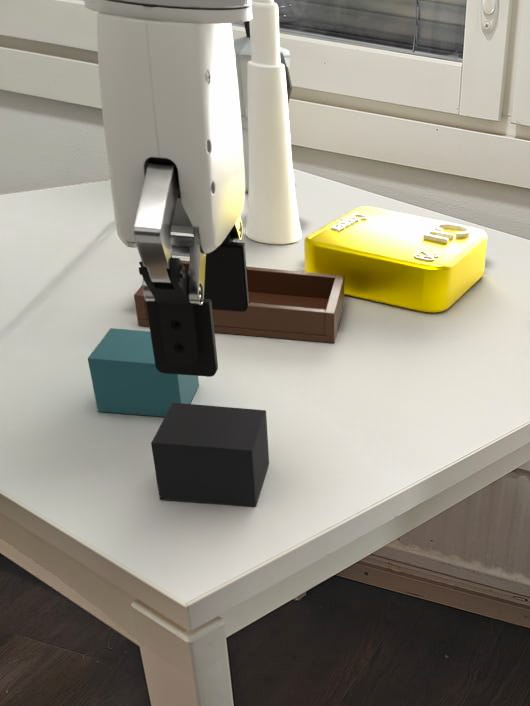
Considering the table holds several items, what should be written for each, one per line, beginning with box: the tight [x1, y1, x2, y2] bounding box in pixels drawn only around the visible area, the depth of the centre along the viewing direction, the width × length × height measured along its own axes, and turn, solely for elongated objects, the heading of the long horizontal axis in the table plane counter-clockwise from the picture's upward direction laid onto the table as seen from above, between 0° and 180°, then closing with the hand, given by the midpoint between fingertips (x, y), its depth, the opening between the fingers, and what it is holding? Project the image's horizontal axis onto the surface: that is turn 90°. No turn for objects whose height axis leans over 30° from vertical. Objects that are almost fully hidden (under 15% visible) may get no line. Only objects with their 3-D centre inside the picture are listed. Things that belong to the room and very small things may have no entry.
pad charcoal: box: [150, 403, 270, 507], centre depth 57 cm, size 6×6×4 cm
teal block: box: [87, 327, 200, 418], centre depth 65 cm, size 6×6×4 cm
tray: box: [133, 259, 345, 344], centre depth 79 cm, size 17×10×3 cm, turn 91°
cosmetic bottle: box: [245, 0, 303, 245], centre depth 90 cm, size 6×6×22 cm
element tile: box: [303, 205, 488, 314], centre depth 89 cm, size 15×15×5 cm
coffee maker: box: [233, 21, 297, 193], centre depth 106 cm, size 15×9×18 cm, turn 34°
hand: (206, 338), depth 52 cm, fingers open, 9 cm apart
